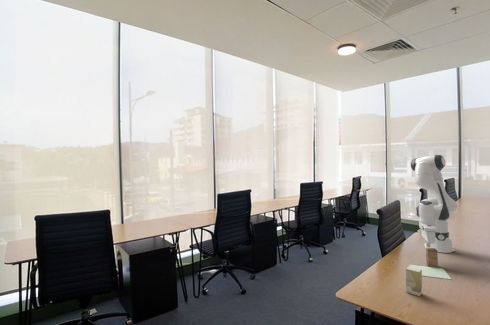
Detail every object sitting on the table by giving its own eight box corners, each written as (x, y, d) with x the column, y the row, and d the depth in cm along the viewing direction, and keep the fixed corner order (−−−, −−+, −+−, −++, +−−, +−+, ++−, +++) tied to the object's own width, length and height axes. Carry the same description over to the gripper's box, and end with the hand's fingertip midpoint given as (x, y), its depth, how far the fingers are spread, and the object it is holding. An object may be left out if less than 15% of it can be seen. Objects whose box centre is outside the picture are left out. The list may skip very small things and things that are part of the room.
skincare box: (405, 292, 133) (405, 268, 133) (408, 289, 136) (407, 266, 136) (420, 296, 128) (419, 271, 128) (422, 293, 131) (421, 269, 131)
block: (426, 264, 169) (425, 247, 169) (435, 265, 167) (435, 248, 167) (428, 267, 164) (427, 249, 164) (437, 268, 162) (437, 250, 162)
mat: (409, 265, 168) (409, 264, 168) (443, 269, 161) (443, 268, 161) (413, 274, 153) (413, 274, 153) (451, 279, 146) (451, 279, 146)
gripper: (418, 222, 184) (419, 242, 183) (424, 228, 165) (425, 250, 165) (429, 223, 181) (430, 243, 181) (436, 229, 163) (438, 251, 162)
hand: (428, 246), depth 173 cm, fingers closed
